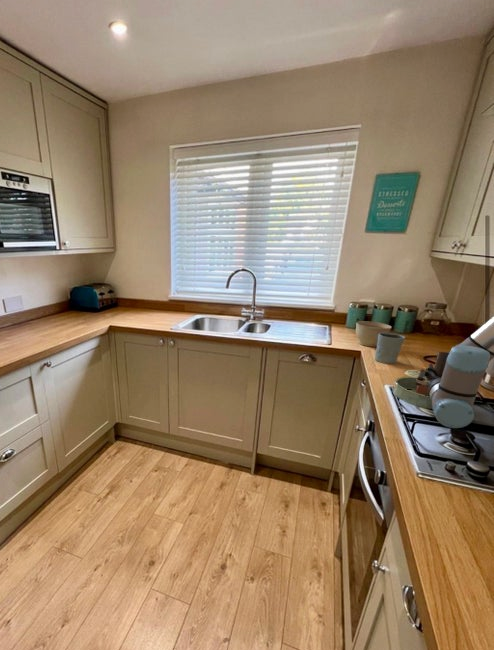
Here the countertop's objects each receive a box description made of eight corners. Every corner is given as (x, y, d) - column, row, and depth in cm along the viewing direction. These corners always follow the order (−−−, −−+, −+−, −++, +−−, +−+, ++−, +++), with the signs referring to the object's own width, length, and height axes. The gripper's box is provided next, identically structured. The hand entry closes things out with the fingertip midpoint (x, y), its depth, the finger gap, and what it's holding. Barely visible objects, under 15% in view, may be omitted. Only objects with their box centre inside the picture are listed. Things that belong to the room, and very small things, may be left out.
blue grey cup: (369, 360, 151) (375, 334, 146) (376, 355, 158) (382, 331, 153) (394, 366, 144) (401, 339, 140) (400, 360, 151) (407, 335, 147)
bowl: (452, 395, 116) (456, 384, 114) (460, 417, 101) (465, 404, 100) (392, 384, 125) (395, 373, 123) (392, 402, 110) (395, 390, 108)
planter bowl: (386, 350, 165) (391, 329, 161) (350, 345, 173) (354, 325, 169) (386, 343, 178) (391, 323, 174) (354, 338, 186) (358, 319, 182)
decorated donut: (417, 375, 134) (420, 367, 132) (443, 386, 124) (446, 377, 123) (397, 378, 131) (399, 369, 129) (422, 388, 121) (425, 379, 120)
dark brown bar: (437, 398, 108) (449, 353, 106) (439, 399, 105) (452, 353, 103) (426, 395, 109) (437, 351, 107) (427, 397, 106) (439, 351, 104)
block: (430, 393, 116) (434, 381, 114) (431, 397, 113) (435, 386, 111) (415, 390, 118) (418, 379, 117) (415, 394, 115) (419, 383, 113)
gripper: (408, 398, 97) (405, 374, 116) (478, 413, 89) (463, 384, 108) (415, 375, 94) (411, 354, 113) (488, 388, 87) (471, 363, 106)
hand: (436, 369), depth 111 cm, fingers closed on dark brown bar, 3 cm apart
